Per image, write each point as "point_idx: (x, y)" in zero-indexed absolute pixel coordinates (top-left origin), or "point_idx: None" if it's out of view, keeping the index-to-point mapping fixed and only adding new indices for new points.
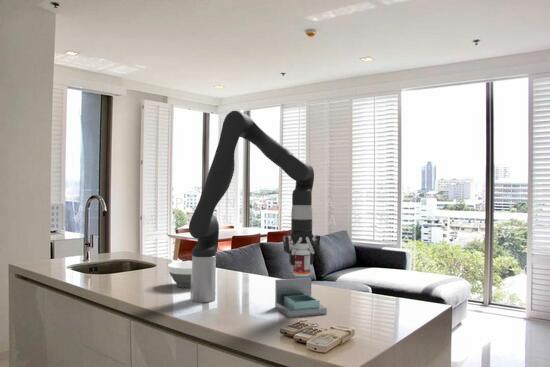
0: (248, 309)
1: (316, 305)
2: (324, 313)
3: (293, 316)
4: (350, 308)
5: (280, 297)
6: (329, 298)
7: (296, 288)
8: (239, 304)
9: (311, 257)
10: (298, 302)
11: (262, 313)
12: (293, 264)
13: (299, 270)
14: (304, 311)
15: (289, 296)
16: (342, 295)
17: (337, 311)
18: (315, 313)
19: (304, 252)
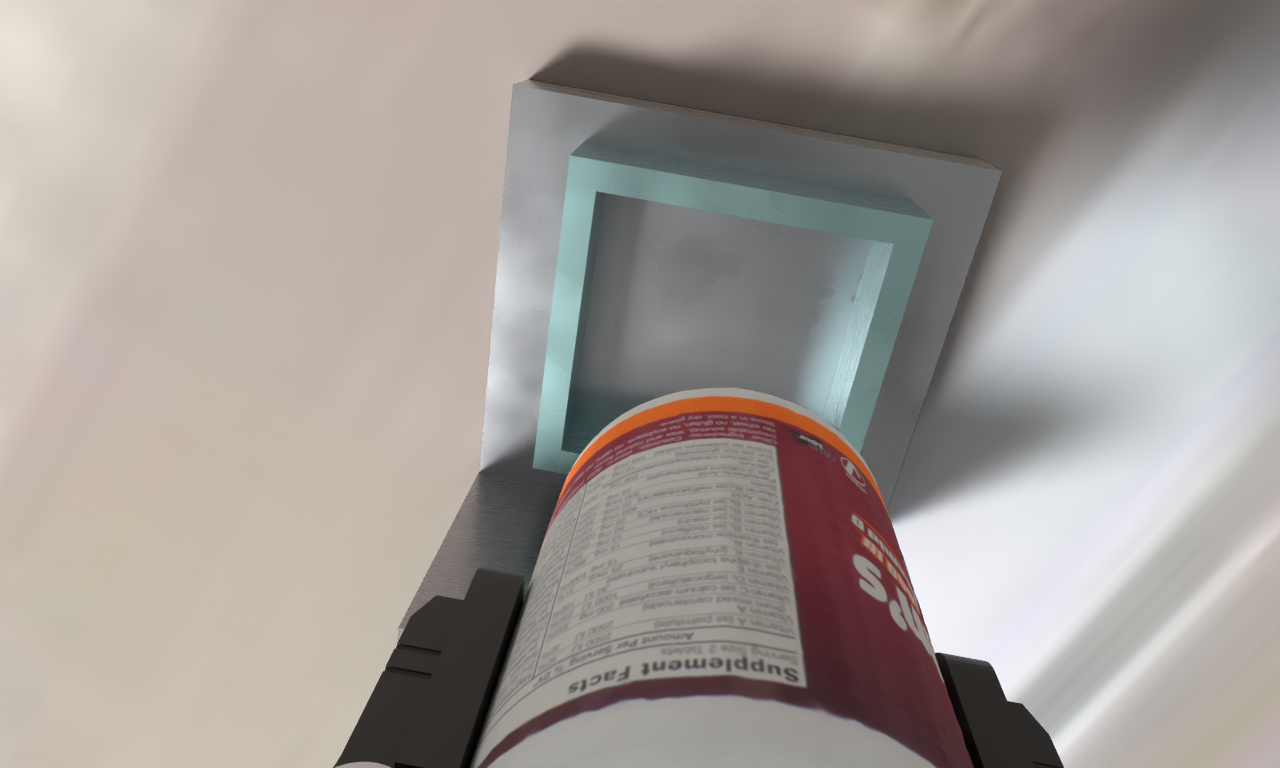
0: (1127, 587)
1: (620, 152)
2: (553, 85)
3: (935, 151)
4: (164, 145)
5: None
6: (206, 547)
7: None
8: (1078, 742)
9: (455, 692)
10: (872, 207)
11: (1114, 418)
12: (979, 666)
13: (865, 487)
14: (806, 133)
15: None
16: (38, 573)
17: (360, 110)
18: (665, 105)
19: None
